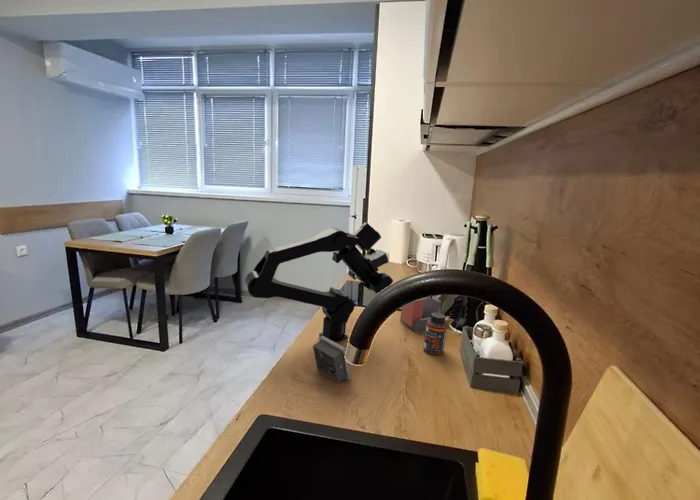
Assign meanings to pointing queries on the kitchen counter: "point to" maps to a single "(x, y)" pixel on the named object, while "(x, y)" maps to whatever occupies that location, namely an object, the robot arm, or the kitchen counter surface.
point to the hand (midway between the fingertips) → (383, 293)
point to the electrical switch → (331, 359)
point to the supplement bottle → (435, 334)
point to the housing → (425, 314)
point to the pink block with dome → (412, 312)
